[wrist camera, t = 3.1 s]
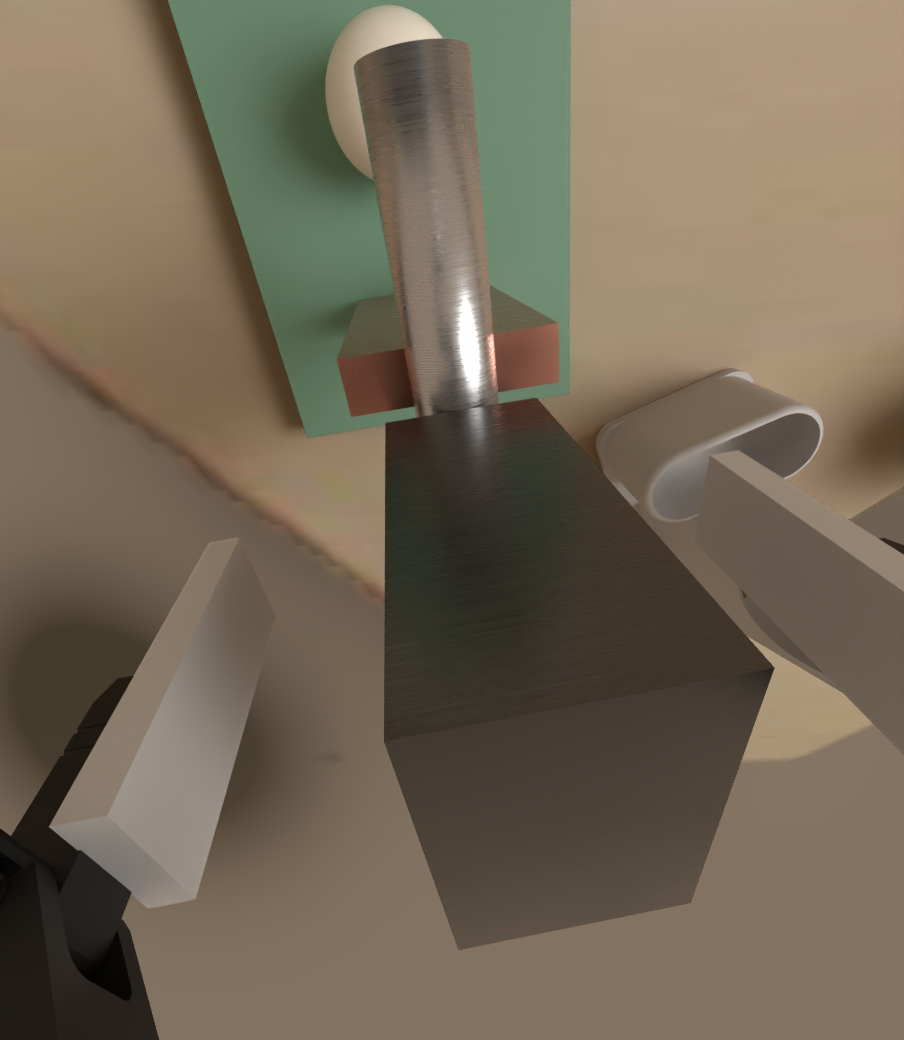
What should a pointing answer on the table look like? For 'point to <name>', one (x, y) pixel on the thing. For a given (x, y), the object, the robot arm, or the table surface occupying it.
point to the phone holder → (683, 467)
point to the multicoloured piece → (521, 575)
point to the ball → (340, 86)
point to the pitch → (351, 195)
